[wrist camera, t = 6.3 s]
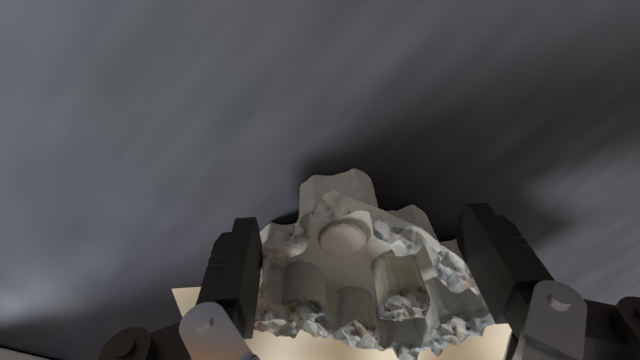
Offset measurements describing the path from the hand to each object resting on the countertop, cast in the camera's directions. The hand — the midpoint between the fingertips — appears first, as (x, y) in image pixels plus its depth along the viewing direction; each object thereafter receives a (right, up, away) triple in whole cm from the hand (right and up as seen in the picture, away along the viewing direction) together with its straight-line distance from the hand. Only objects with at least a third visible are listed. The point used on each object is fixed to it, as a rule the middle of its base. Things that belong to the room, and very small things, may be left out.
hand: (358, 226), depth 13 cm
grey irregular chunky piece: (+1, -2, +4) cm, 4 cm away
